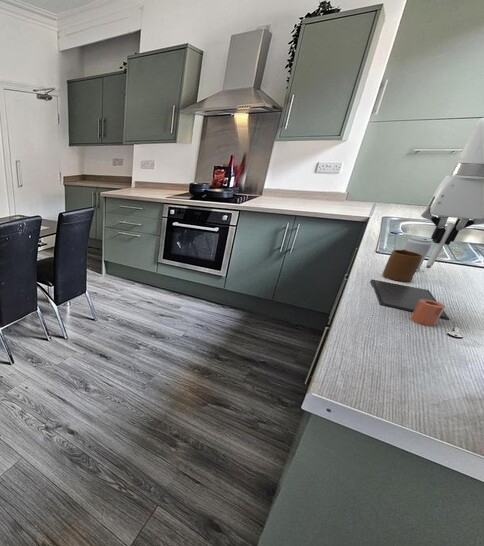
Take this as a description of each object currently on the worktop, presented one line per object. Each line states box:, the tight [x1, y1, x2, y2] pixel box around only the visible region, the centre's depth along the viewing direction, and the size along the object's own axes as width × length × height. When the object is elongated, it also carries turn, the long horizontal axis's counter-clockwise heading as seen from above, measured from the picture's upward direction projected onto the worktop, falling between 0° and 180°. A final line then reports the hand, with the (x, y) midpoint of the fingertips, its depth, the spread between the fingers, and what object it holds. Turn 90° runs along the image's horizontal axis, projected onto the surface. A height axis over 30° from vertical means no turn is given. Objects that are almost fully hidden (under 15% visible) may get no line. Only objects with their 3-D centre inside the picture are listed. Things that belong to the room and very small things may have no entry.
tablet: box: [370, 278, 451, 321], centre depth 96 cm, size 14×22×1 cm, turn 144°
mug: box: [382, 248, 422, 283], centre depth 111 cm, size 12×8×9 cm, turn 141°
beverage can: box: [403, 236, 433, 271], centre depth 117 cm, size 6×6×12 cm
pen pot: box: [409, 299, 446, 327], centre depth 82 cm, size 5×5×6 cm
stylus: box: [425, 222, 455, 269], centre depth 83 cm, size 1×1×13 cm
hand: (440, 242), depth 83 cm, fingers closed on stylus, 1 cm apart
